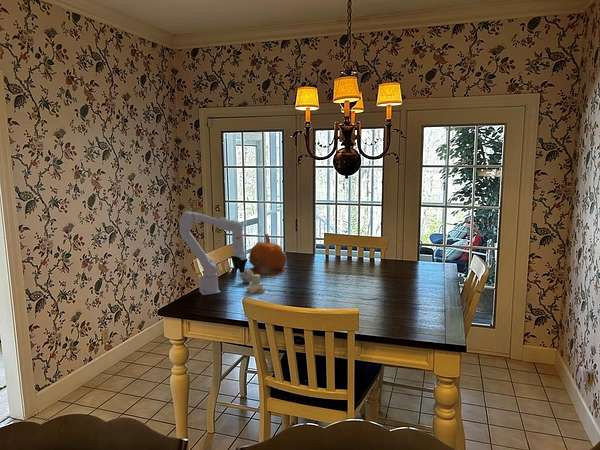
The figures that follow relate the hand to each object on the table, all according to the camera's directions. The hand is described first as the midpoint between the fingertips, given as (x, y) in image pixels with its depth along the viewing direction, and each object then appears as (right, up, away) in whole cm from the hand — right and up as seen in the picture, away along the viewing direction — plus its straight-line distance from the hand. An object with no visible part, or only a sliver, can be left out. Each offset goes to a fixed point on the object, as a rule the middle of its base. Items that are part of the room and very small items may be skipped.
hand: (239, 270), depth 232 cm
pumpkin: (+12, -4, +40) cm, 42 cm away
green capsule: (+9, -6, -2) cm, 11 cm away
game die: (+3, -9, +14) cm, 17 cm away
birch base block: (+9, -11, -1) cm, 14 cm away
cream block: (+9, -9, -2) cm, 12 cm away
